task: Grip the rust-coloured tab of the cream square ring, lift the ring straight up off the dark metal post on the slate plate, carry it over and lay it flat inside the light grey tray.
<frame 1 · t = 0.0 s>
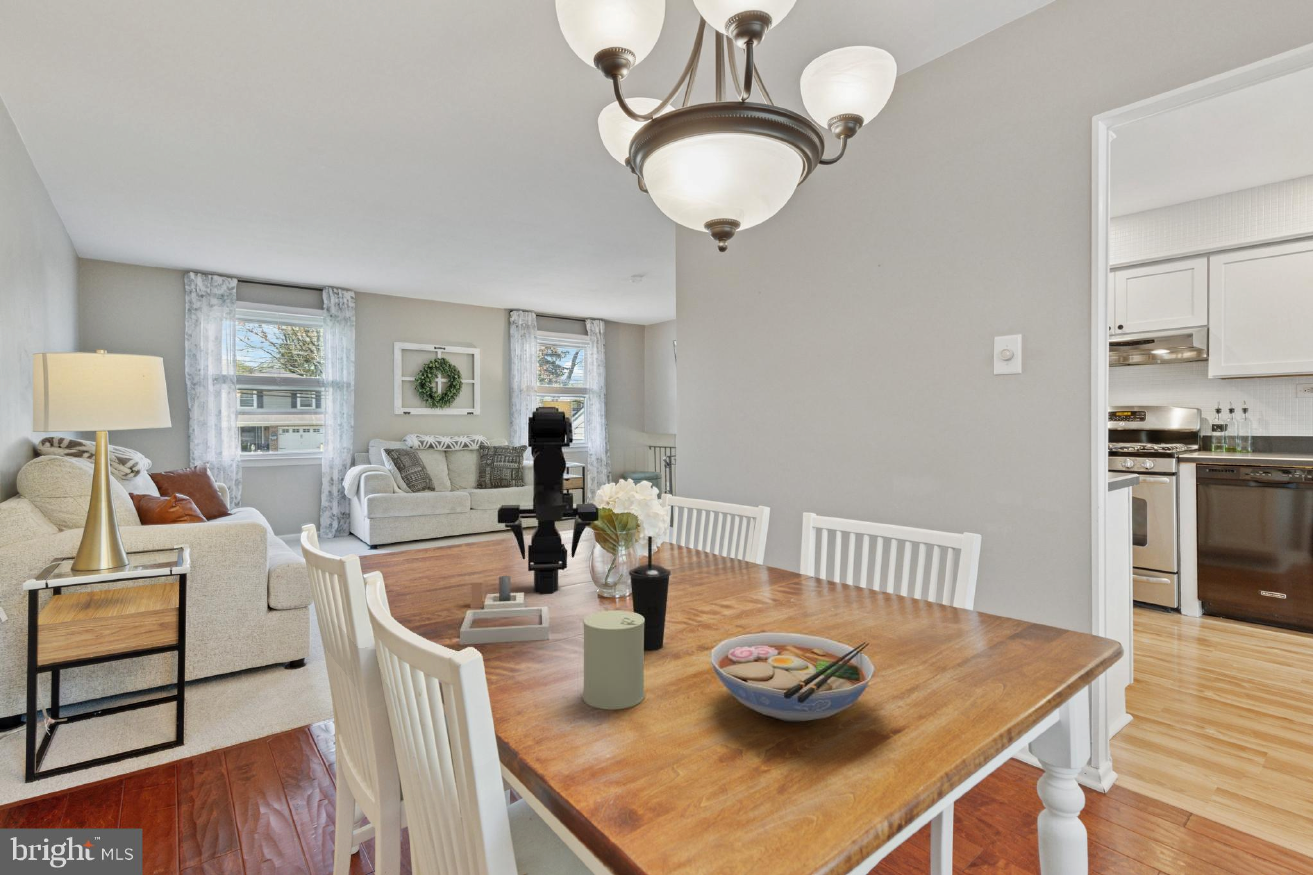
hand: (548, 558, 121), 15 cm above the table, tool pointing down, fingers open, 9 cm apart
can: (613, 697, 94), on the table
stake: (504, 610, 137), on the table
drinking cup: (649, 646, 115), on the table
ring: (504, 604, 137), point 1 cm above the table, touching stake
tray: (506, 630, 123), on the table
ramen bowl: (789, 711, 89), on the table
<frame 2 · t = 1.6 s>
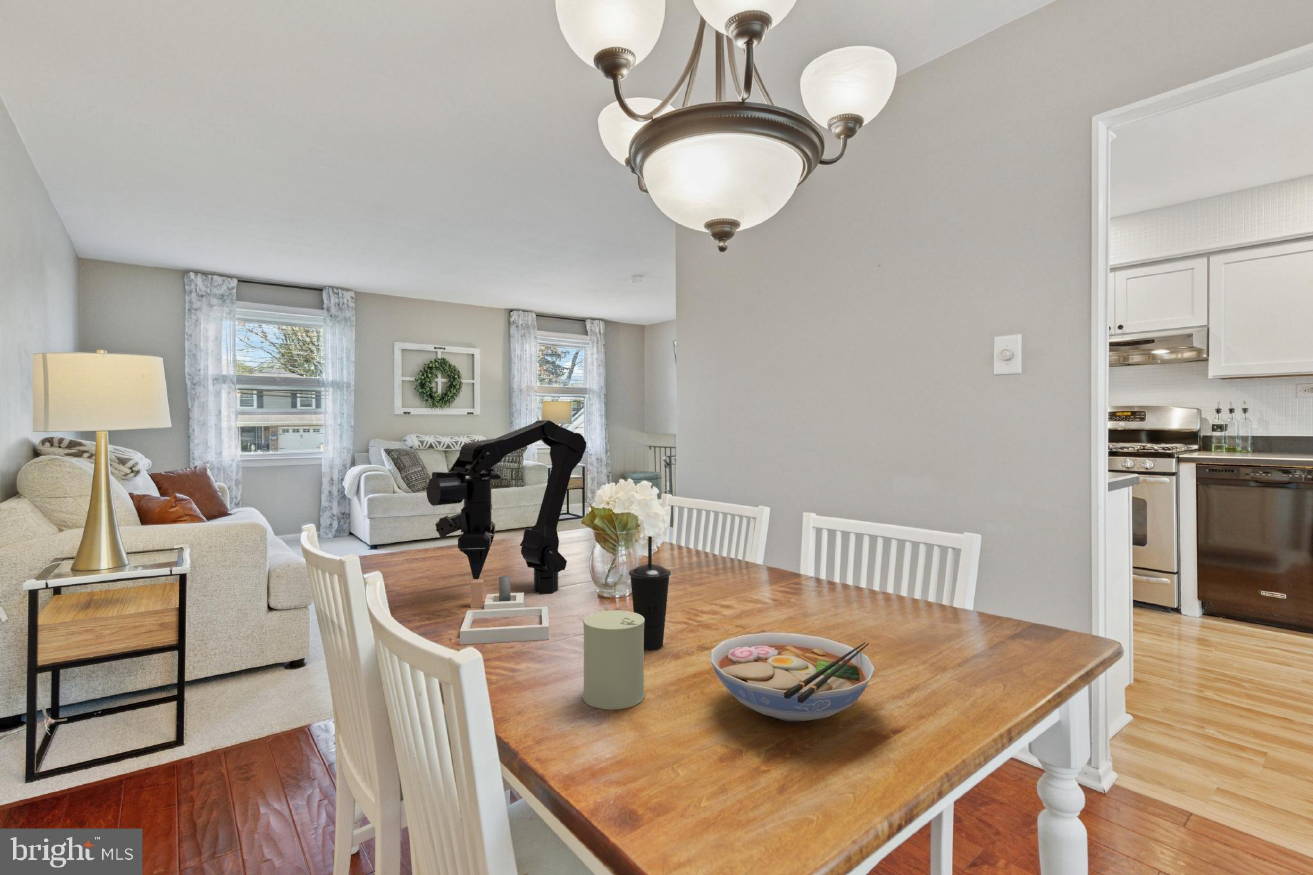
hand: (478, 573, 135), 8 cm above the table, tool pointing down, fingers open, 9 cm apart
nothing on the table moved.
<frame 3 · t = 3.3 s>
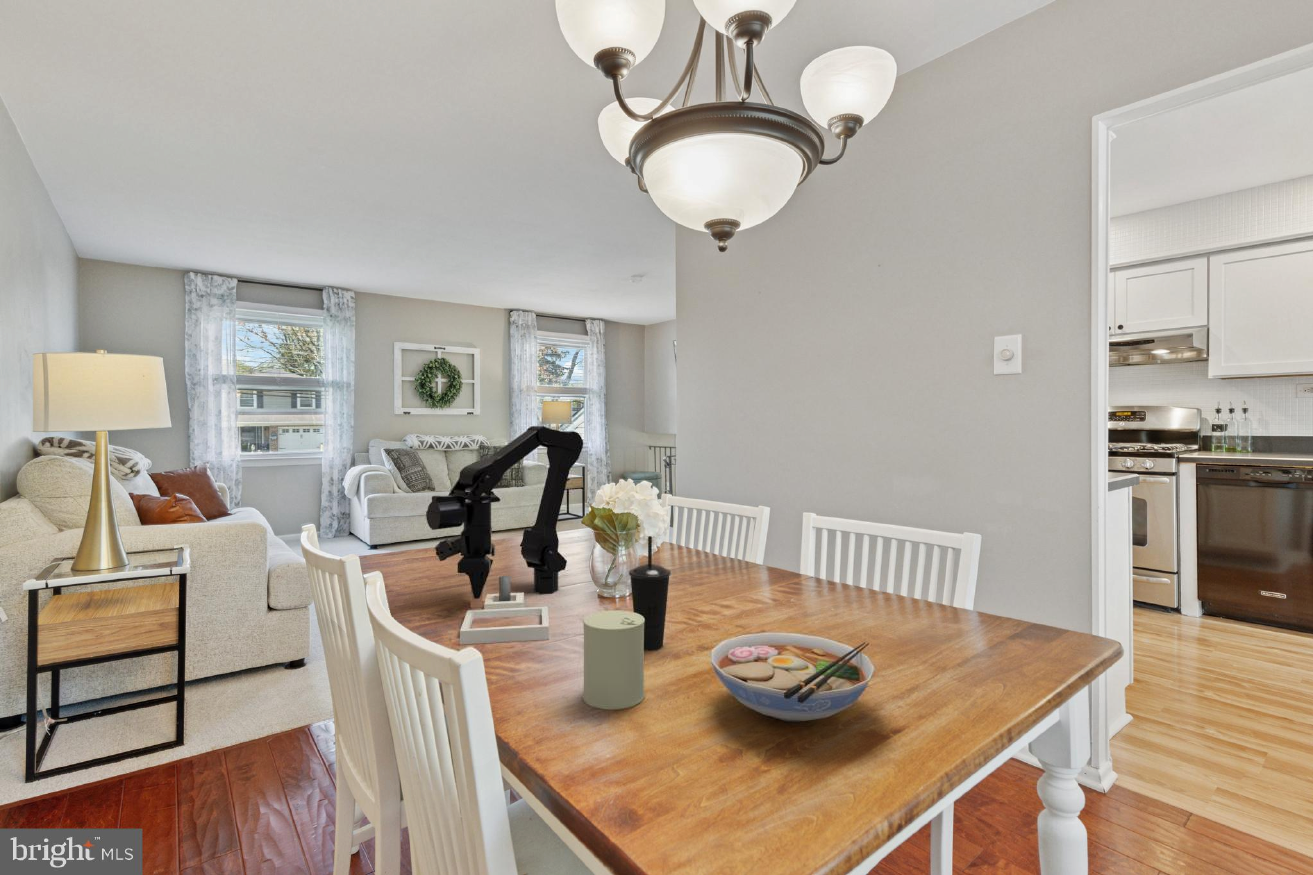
hand: (477, 596, 135), 3 cm above the table, tool pointing down, fingers closed on ring, 2 cm apart
ring: (504, 604, 137), point 1 cm above the table, touching gripper, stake
everything else where it was.
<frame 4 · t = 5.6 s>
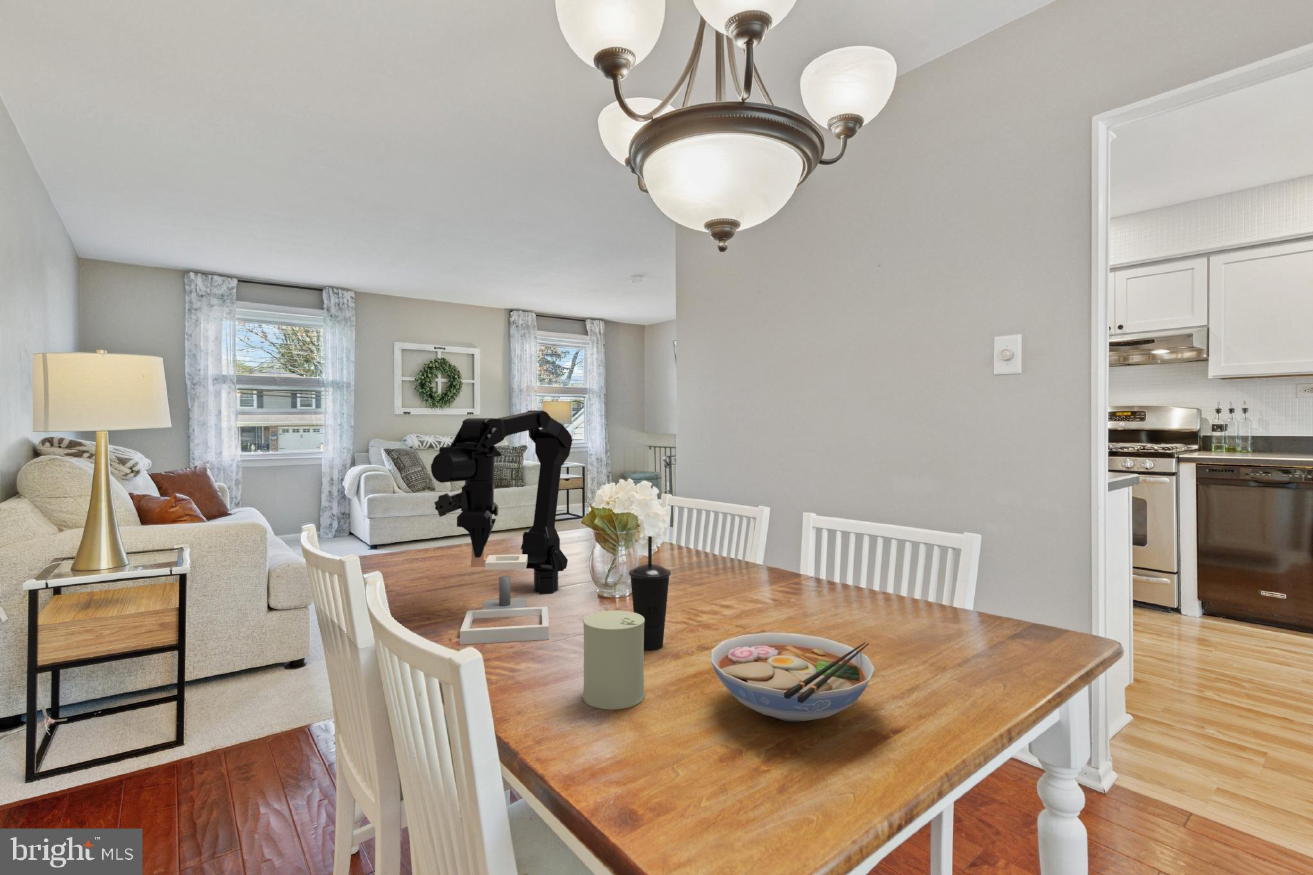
hand: (478, 556, 129), 13 cm above the table, tool pointing down, fingers closed on ring, 2 cm apart
ring: (506, 565, 130), point 11 cm above the table, touching gripper
everything else where it was.
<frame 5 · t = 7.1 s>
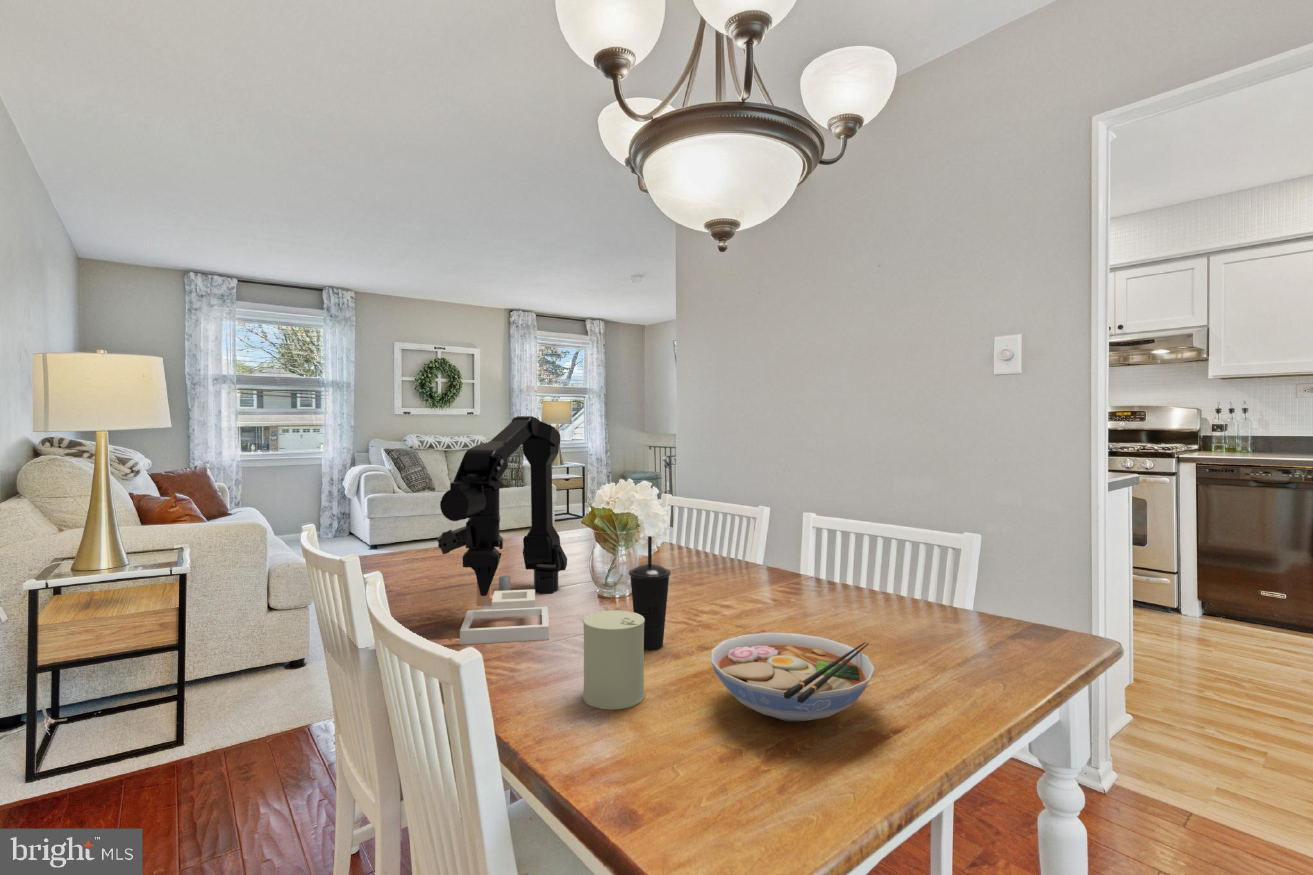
hand: (484, 593, 122), 7 cm above the table, tool pointing down, fingers closed on ring, 2 cm apart
ring: (514, 602, 123), point 5 cm above the table, touching gripper
everything else where it was.
when the fingers open (4 cm above the table, at t = 8.3 s): ring drops 2 cm, resting on tray.
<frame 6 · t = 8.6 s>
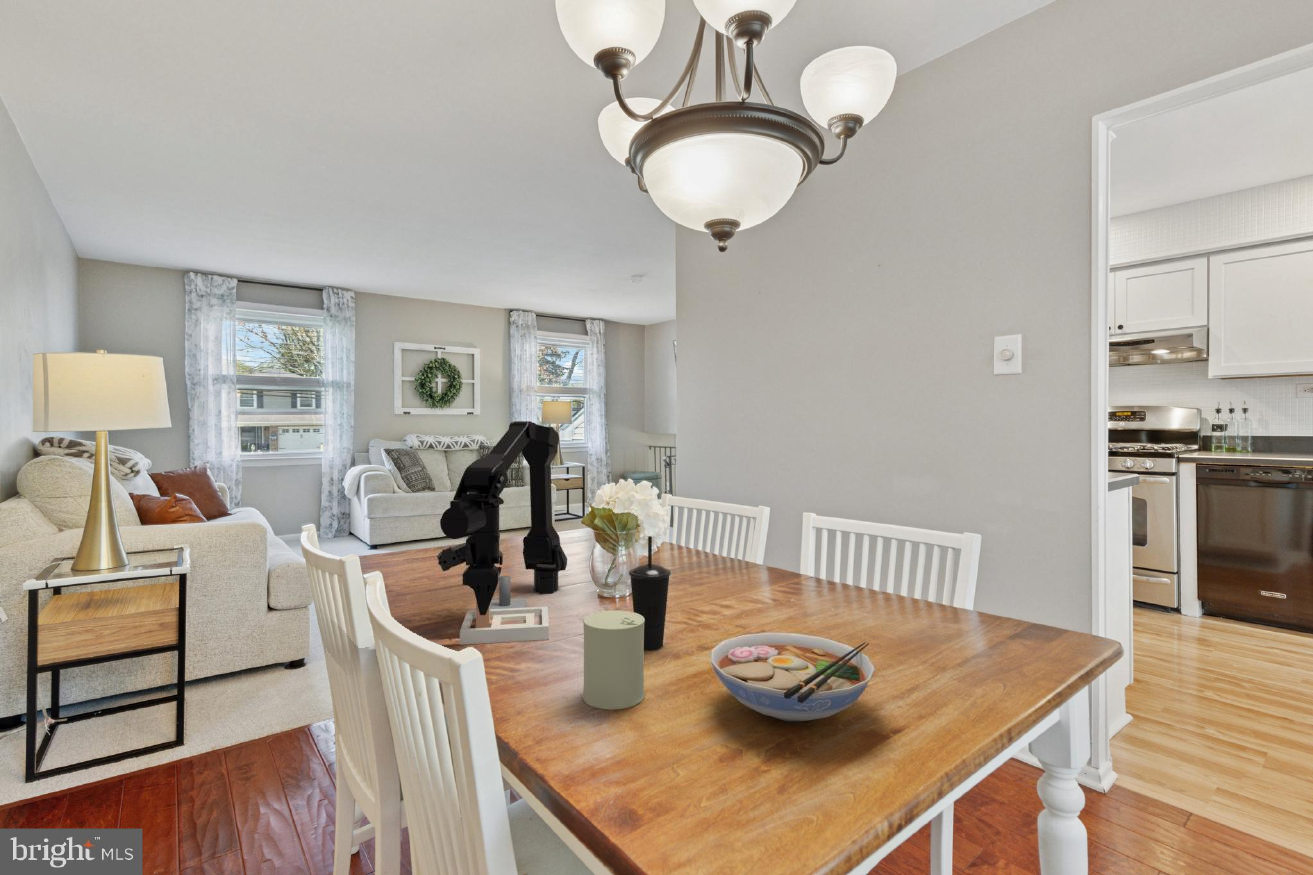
hand: (484, 610, 122), 4 cm above the table, tool pointing down, fingers open, 6 cm apart
ring: (513, 627, 123), point 1 cm above the table, touching tray
everything else where it was.
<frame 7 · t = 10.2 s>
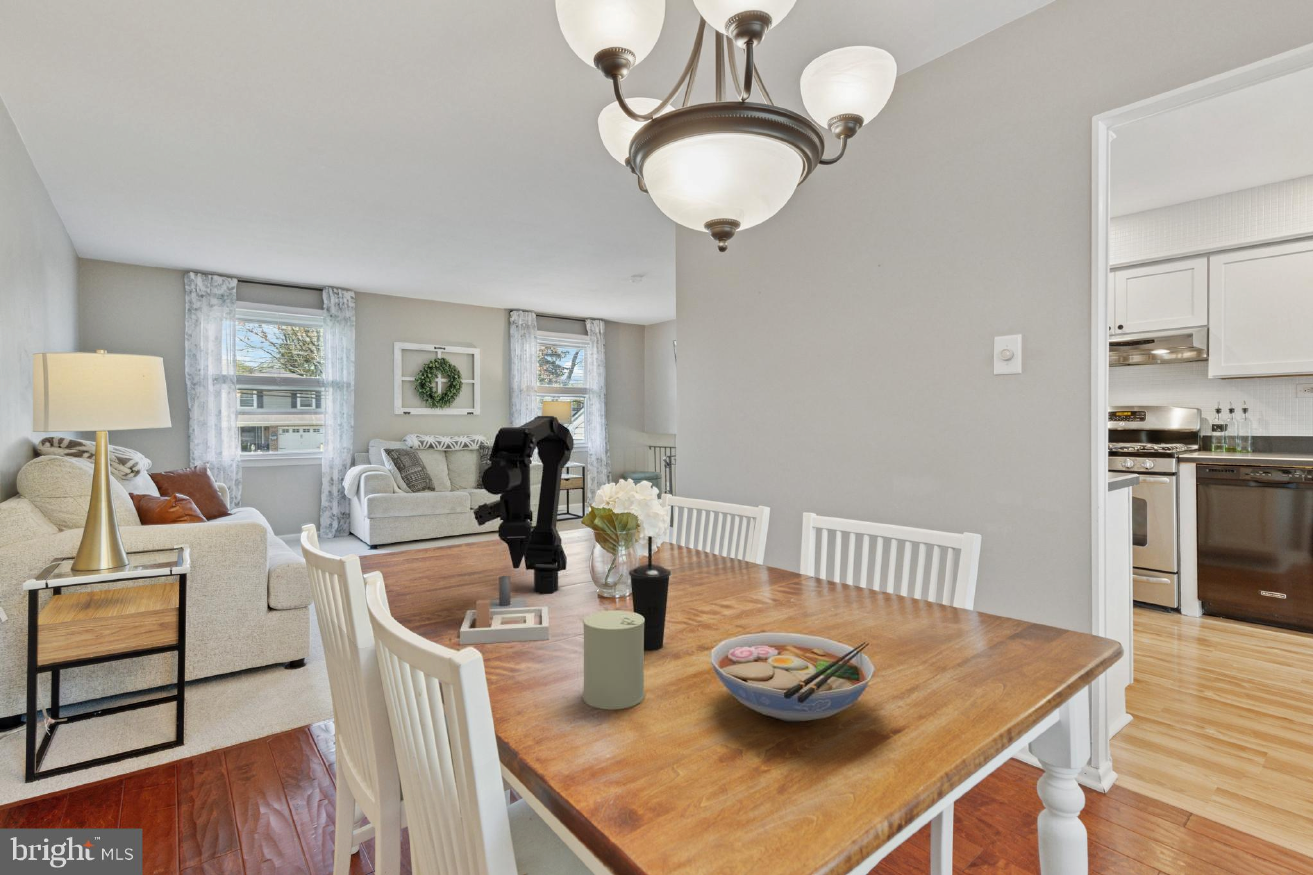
hand: (517, 562, 131), 11 cm above the table, tool pointing down, fingers open, 9 cm apart
nothing on the table moved.
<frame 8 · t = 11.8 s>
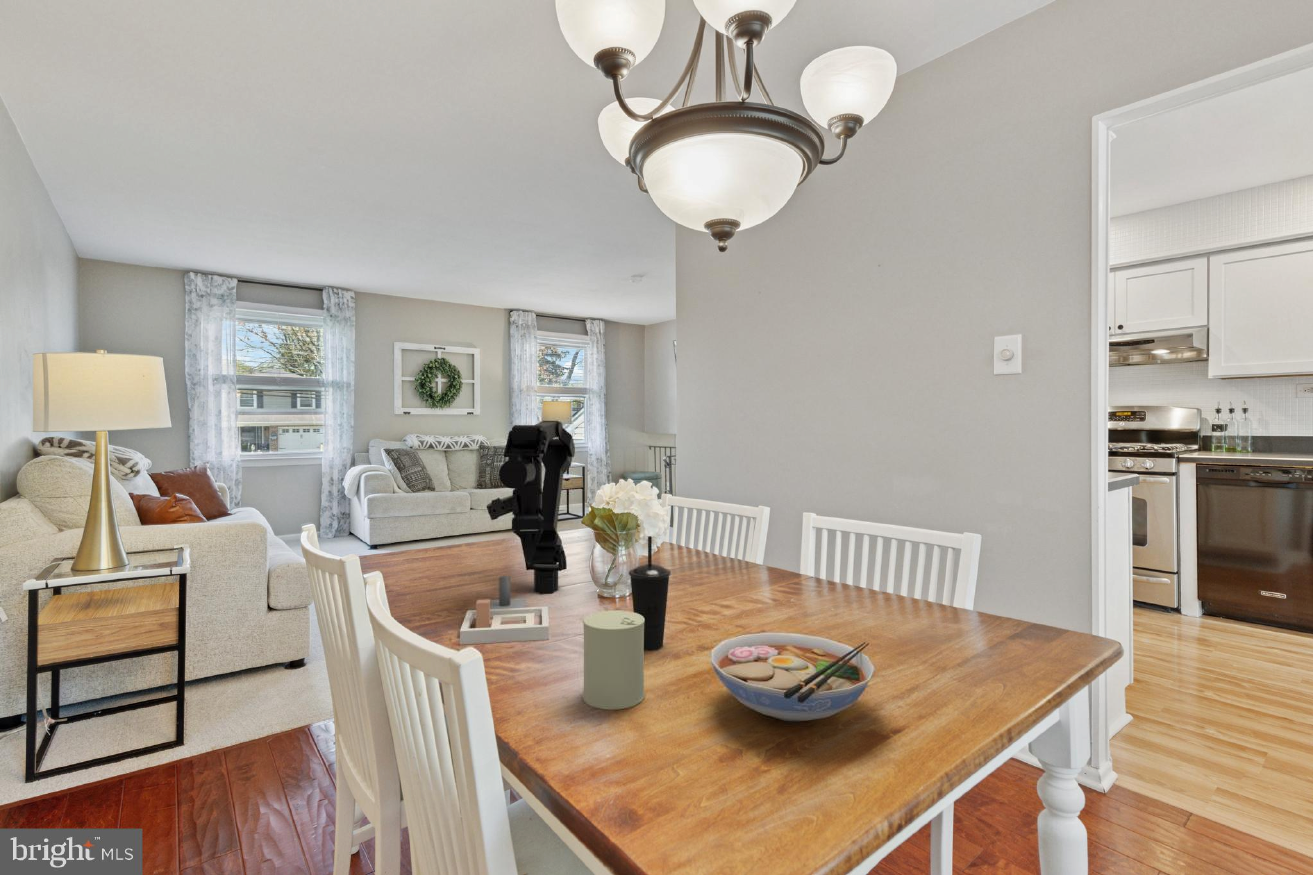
hand: (528, 557, 134), 12 cm above the table, tool pointing down, fingers open, 9 cm apart
nothing on the table moved.
at the end: ring inside the target area on the tray (0.3 cm from its centre), point 0.6 cm above the tray's base; ring tilted 0°; the gripper is holding nothing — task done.
